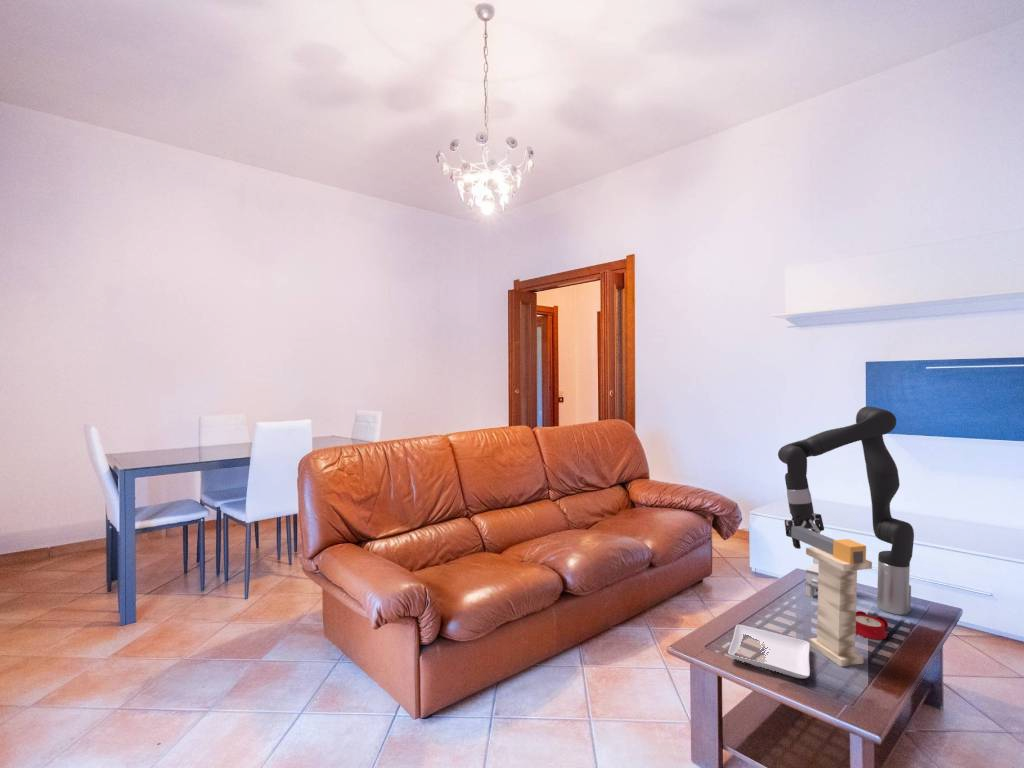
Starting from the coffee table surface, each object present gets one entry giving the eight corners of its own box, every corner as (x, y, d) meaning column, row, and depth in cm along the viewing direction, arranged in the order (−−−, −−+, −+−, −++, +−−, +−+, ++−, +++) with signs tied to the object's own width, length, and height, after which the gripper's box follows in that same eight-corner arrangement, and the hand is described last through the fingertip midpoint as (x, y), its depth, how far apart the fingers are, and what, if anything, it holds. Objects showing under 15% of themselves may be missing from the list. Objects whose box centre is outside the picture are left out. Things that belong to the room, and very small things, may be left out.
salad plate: (809, 650, 158) (809, 640, 158) (809, 687, 140) (809, 675, 140) (736, 632, 169) (736, 622, 169) (727, 664, 151) (727, 653, 151)
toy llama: (803, 597, 194) (804, 546, 194) (815, 584, 207) (817, 535, 206) (825, 604, 189) (827, 551, 188) (837, 589, 201) (838, 540, 201)
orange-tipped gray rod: (802, 536, 172) (802, 521, 172) (865, 562, 149) (866, 545, 149) (788, 537, 171) (788, 522, 171) (850, 564, 148) (850, 547, 148)
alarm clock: (845, 622, 169) (854, 598, 179) (845, 638, 170) (855, 614, 180) (883, 634, 161) (891, 608, 172) (883, 651, 162) (891, 624, 173)
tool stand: (830, 640, 164) (832, 545, 163) (869, 664, 150) (871, 561, 149) (803, 643, 162) (806, 547, 161) (841, 668, 148) (843, 564, 147)
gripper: (791, 505, 177) (799, 552, 176) (824, 498, 180) (832, 544, 179) (775, 502, 184) (783, 547, 183) (807, 495, 188) (815, 539, 187)
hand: (807, 545), depth 181 cm, fingers open, 8 cm apart
